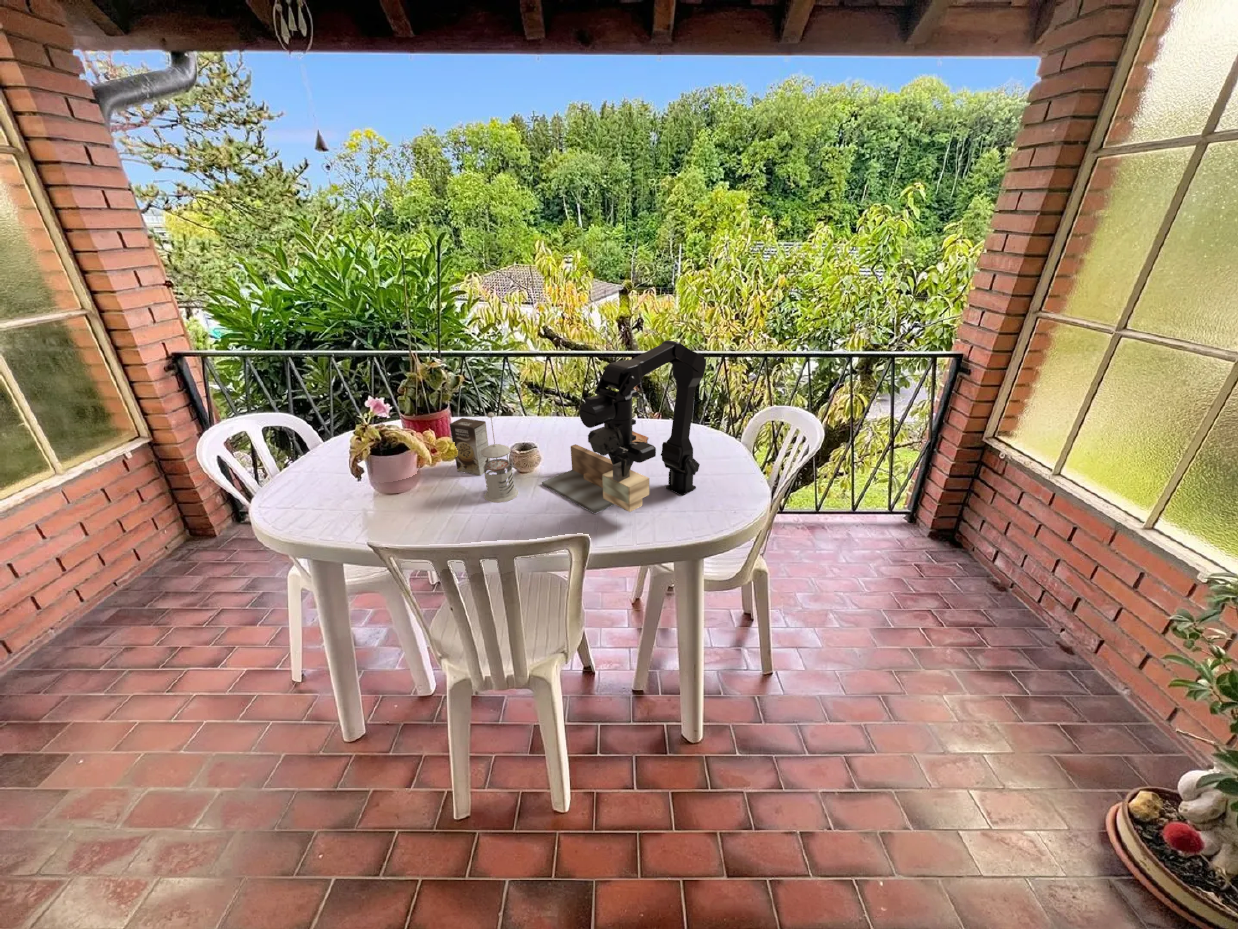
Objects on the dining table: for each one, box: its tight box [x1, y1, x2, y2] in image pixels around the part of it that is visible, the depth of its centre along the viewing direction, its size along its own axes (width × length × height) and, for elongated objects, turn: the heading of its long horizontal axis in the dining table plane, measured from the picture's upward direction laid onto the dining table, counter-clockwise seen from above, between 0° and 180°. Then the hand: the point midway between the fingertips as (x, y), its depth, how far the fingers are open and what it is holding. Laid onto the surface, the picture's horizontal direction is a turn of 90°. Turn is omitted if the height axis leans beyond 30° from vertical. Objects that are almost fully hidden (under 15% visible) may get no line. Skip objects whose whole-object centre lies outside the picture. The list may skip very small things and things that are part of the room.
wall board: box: [541, 444, 631, 515], centre depth 149 cm, size 24×14×9 cm, turn 43°
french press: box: [481, 411, 519, 504], centre depth 145 cm, size 10×12×25 cm
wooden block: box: [602, 462, 650, 513], centre depth 133 cm, size 10×7×11 cm
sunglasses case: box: [632, 430, 649, 444], centre depth 179 cm, size 18×7×7 cm
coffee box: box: [449, 417, 491, 476], centre depth 162 cm, size 9×6×16 cm
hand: (621, 475), depth 131 cm, fingers closed on wooden block
